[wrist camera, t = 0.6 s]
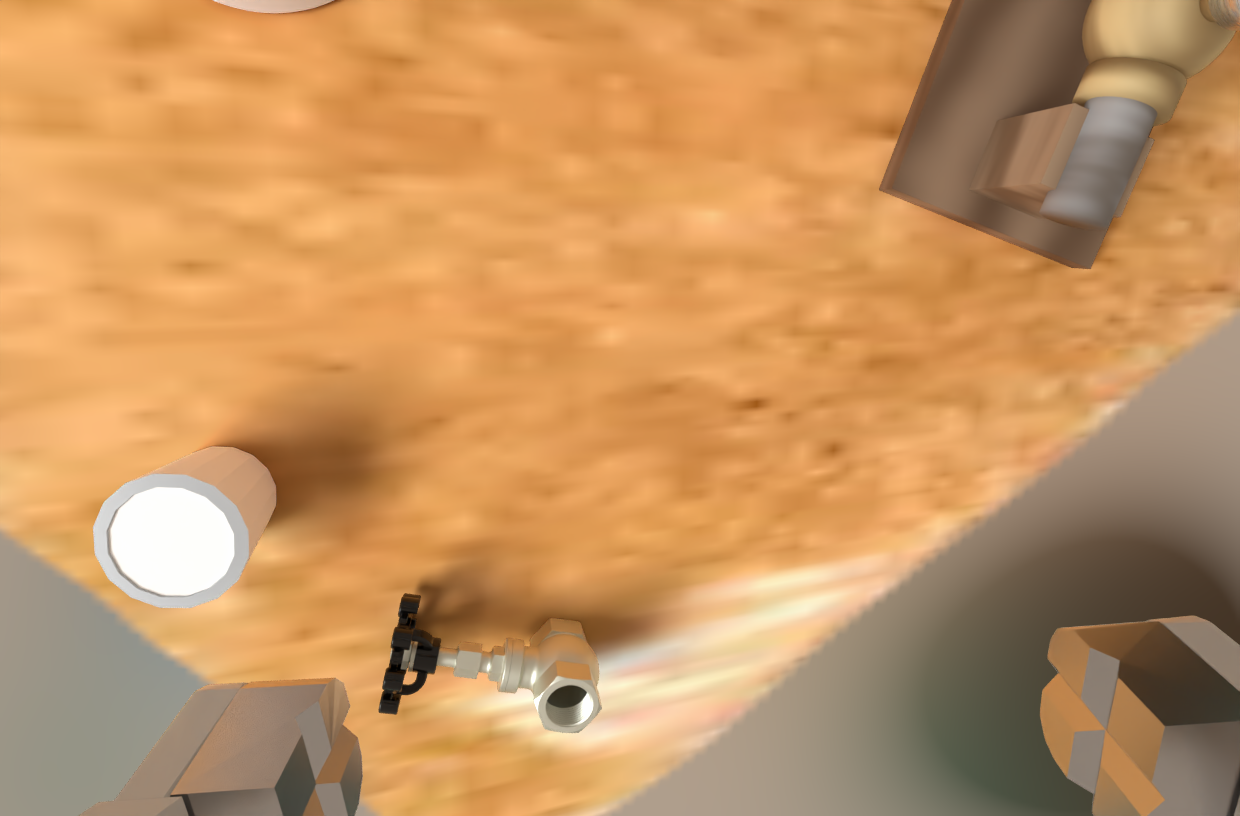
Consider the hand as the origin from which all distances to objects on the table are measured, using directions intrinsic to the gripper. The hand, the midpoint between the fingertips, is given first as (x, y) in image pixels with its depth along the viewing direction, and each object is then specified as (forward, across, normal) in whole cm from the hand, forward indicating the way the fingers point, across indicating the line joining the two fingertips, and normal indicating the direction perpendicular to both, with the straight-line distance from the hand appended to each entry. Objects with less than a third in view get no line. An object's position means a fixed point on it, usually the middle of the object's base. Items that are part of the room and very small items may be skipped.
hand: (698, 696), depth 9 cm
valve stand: (+41, -26, -9) cm, 49 cm away
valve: (+32, +9, +23) cm, 41 cm away
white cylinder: (+32, +23, +11) cm, 41 cm away
